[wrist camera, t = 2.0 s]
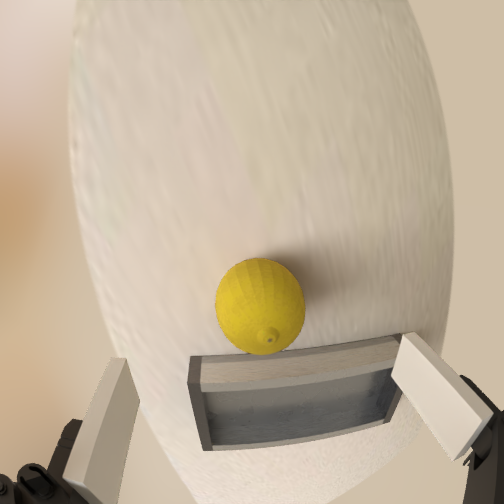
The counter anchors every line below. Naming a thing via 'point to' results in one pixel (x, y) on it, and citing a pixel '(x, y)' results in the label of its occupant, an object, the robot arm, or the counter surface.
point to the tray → (293, 394)
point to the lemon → (260, 306)
